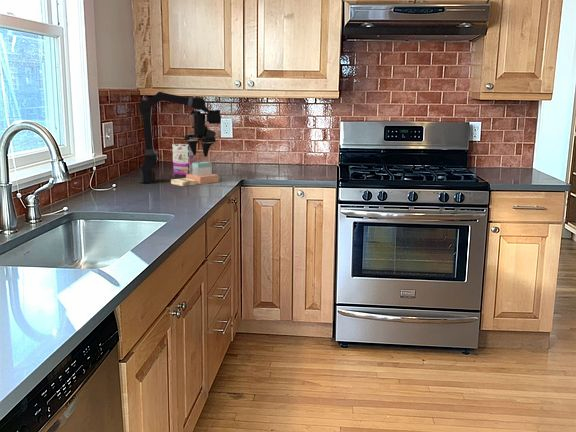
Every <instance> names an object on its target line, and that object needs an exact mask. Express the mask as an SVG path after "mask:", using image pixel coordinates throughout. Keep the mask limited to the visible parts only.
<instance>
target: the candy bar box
mask: <svg viewBox="0 0 576 432" xmlns="http://www.w3.org/2000/svg"><path fill="white" fill-rule="evenodd" d="M171 148H172V150H171V151H172V174H173V175H175V176H181V177H182V176H183V177H186V174H192V163H195V155H193V153H192V151H191V149H190V147H189V145H188V143H172V145H171Z"/></svg>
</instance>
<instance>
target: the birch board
mask: <svg viewBox="0 0 576 432" xmlns="http://www.w3.org/2000/svg"><path fill="white" fill-rule="evenodd" d="M170 184H172V185H175V186H180V187H186V186H194V185H196V186H197V185H198V184H197V180H192V179H187V178H186V177H182V178H174V179H173V178H172V179H170Z"/></svg>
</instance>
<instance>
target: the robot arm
mask: <svg viewBox="0 0 576 432" xmlns="http://www.w3.org/2000/svg"><path fill="white" fill-rule="evenodd" d="M161 101H165V102H170V103H174V104H175V103H176V104H180V105H184V106H187V107H190V108H192V110H191V111H190V112H189V115H193V125H191V128H192V129H193V133H186V134H185V135H184V141H185V142H186V144H188V145H189V147H190V149H191V151H192V153H193V155H194V156H195V155H197V144H198V143H199V141H201V142H200V144H201V149H202V153H203V156H204V158H208V155H209V151H210V149H211V146H213V144H215V143H216V140H217V139H216V134H217V132H216V131H214V130H211V129H210V128H209V127H208V125H206V122H207V123H208V124H209V125H221V123H222V122H221V121H222V120H221V118H222V116H221V110H220V109H215V110H214V109H212V110H211V109H209V108H208V106H206V101H205V100H204V99H203V97H202V98H201V97H191V96H190V97H187V96H182V95H176V94H172V93H166V92H163V91H158V92H156V94H154V95H153V96H151V97H150V98H148V99H143V100H141V101H140V102H139V104H138V109H139V111H140V115H141V118H142V124H143V135H144V144H145V145H144V146H145V151H144V159H143V163H142V164H141V165H140V167H139V168H140V169H139V180H138V183H140V184H144V185H146V184H147V185H148V184H154V183H157V181H156V173H155V169H153V168H155V166H156V165H157V162H158V161H159V157H158V153H159V152H158V150H156V151H155V149H154V140H153V138H154V137H153V128H152V127H153V126H152V114H153V113H152V112H153V106H154V105H156V104H158V103H159V102H161ZM201 111H203V112H201Z"/></svg>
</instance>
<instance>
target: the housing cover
mask: <svg viewBox="0 0 576 432" xmlns="http://www.w3.org/2000/svg"><path fill="white" fill-rule="evenodd" d="M212 165H213V163H212V162H210V161H196V162H194V163H192V167H195V168H203V167H212ZM212 168H213V167H212Z"/></svg>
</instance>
